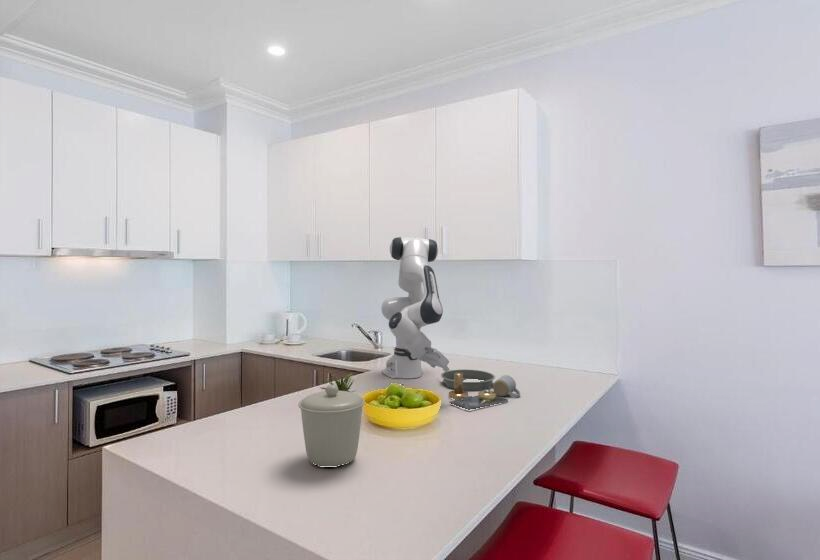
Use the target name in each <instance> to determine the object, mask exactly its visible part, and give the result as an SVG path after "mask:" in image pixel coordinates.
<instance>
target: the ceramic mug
mask: <svg viewBox="0 0 820 560" xmlns="http://www.w3.org/2000/svg"><path fill="white" fill-rule="evenodd" d="M492 388H493V390H492V391H494V392H496V396H498V397H506V396H510V397H512V398H515V397H518V398H520V396H521V392H520V391H519V390H518V388H517V383H516V380H515V379H514V378H513V377H512V376H510V375H509V374H505V375H501V377H499V378H498V379H496V380H495V381H494V383H493V385H492ZM513 392H514V393H513Z"/></svg>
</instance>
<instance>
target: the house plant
mask: <svg viewBox="0 0 820 560" xmlns="http://www.w3.org/2000/svg"><path fill="white" fill-rule="evenodd" d="M352 374H353V372H352V373H349V374H348V375H346V376H344V374H342V376H341V378H339V377H337V376H336V375H334V374H333V373H331V375H332V377H333V379H334V381H335V384H334V383H333V382H332V381H331V380H328V379H326V378H323V381H325V382H326V383H329V385H336V386H337V387H338V391H348V392H352V393H355V390H353V391H351V387H352V386H353V384H354V383H355V382H356V380H355V381H354V379H355V378H353V376H352ZM352 378H353V379H352ZM320 389H322V390H325V389H326V387H320Z"/></svg>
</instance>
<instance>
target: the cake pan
mask: <svg viewBox="0 0 820 560" xmlns="http://www.w3.org/2000/svg"><path fill="white" fill-rule="evenodd" d="M454 373H463V381H464V380H466V379H478V380H484V381H480V382H463V391H480V390H479V389H483V390H486V389H485V388H487V389H489V387H490V386H491V387H492V386H493V385H492V384H493V382H494V380H495V379H496V376H495V375H494V374H493V373H491V372H488V371H484V370H478V369H453V370H452V369H451V370H449V371H448V372H445V371H443V372H442V373H441V375H440V377H441V378H442V379H443V382H444V386H446V387H447V386H448V387H447V388H449V387H451V388H450V389H453V388H454ZM491 387H490V388H491Z"/></svg>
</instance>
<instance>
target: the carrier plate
mask: <svg viewBox="0 0 820 560" xmlns="http://www.w3.org/2000/svg"><path fill="white" fill-rule="evenodd" d="M477 394H478V395H473V396H472V395H468V396H463V399H461V397H458V398H456V399H455V400H452V401H450V400H449V403H451V404H454V405H456V406H459V407H462V408H465V409H468V410H470V409H476V408H480V407H485V406H490V405H494V404H499V403H503V404H505V403H504V402H509V399H508V398H504V397H503V396H498V395H497V394H496V392H494V390H490V389H489V388H487V389H483V390H478V393H477ZM449 403H448V404H449ZM499 405H500V404H499Z"/></svg>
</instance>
